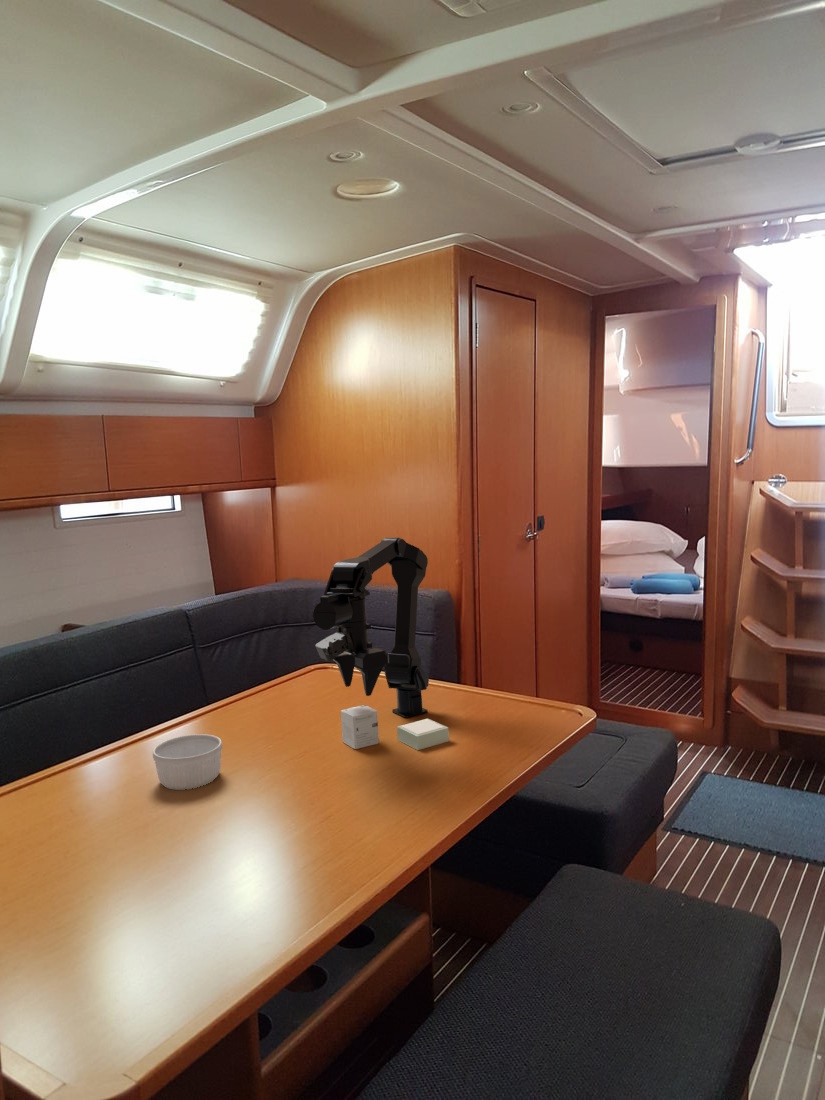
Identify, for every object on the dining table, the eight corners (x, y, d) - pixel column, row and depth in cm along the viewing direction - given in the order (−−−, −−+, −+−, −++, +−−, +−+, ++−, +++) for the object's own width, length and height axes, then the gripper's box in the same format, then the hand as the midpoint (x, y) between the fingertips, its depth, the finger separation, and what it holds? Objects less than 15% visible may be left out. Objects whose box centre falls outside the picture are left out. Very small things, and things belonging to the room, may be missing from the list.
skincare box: (355, 750, 162) (352, 716, 161) (342, 742, 167) (339, 709, 166) (379, 743, 165) (377, 710, 164) (366, 735, 170) (364, 703, 170)
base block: (397, 739, 167) (397, 725, 166) (428, 731, 171) (427, 717, 170) (417, 750, 160) (416, 735, 160) (448, 741, 164) (448, 726, 164)
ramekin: (237, 776, 152) (234, 742, 151) (177, 799, 142) (174, 763, 142) (201, 761, 161) (198, 729, 160) (143, 782, 151) (139, 748, 151)
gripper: (300, 619, 167) (305, 689, 169) (339, 632, 151) (345, 709, 153) (345, 612, 173) (350, 679, 174) (388, 623, 157) (392, 697, 159)
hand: (358, 690), depth 165 cm, fingers open, 9 cm apart
